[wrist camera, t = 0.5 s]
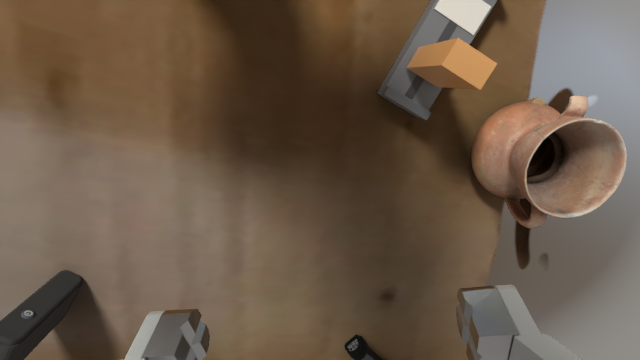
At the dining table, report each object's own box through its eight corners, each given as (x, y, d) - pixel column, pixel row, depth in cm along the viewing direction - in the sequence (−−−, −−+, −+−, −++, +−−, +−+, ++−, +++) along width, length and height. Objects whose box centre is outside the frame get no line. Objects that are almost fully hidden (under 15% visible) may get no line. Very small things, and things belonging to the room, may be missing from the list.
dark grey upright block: (62, 264, 56) (-18, 328, 42) (87, 276, 57) (17, 343, 43) (39, 308, 58) (-46, 384, 43) (63, 319, 59) (-11, 397, 44)
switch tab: (436, 86, 49) (480, 90, 38) (406, 67, 48) (441, 65, 37) (449, 66, 48) (497, 63, 37) (418, 47, 48) (458, 37, 36)
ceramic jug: (482, 82, 53) (547, 84, 39) (570, 101, 55) (663, 110, 41) (447, 197, 58) (494, 235, 44) (530, 212, 59) (600, 252, 46)
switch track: (416, 117, 54) (426, 120, 49) (376, 93, 52) (384, 94, 48) (495, -12, 49) (515, -21, 45) (455, -42, 48) (471, -54, 44)
